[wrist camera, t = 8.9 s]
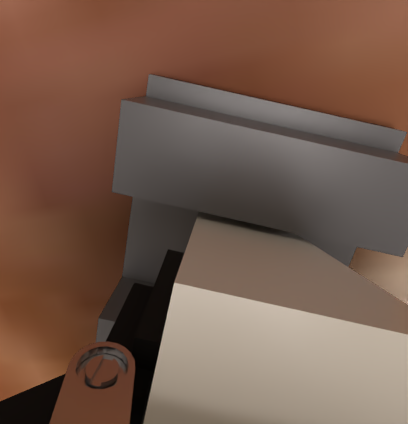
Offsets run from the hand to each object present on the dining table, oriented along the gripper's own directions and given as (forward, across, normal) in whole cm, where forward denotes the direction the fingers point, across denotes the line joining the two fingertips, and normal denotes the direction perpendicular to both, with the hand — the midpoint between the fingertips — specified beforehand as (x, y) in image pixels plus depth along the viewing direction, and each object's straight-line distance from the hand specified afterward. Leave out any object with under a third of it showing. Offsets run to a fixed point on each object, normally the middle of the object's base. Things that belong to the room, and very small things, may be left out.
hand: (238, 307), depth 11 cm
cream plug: (+4, 0, +1) cm, 4 cm away
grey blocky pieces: (+5, 0, +5) cm, 7 cm away
